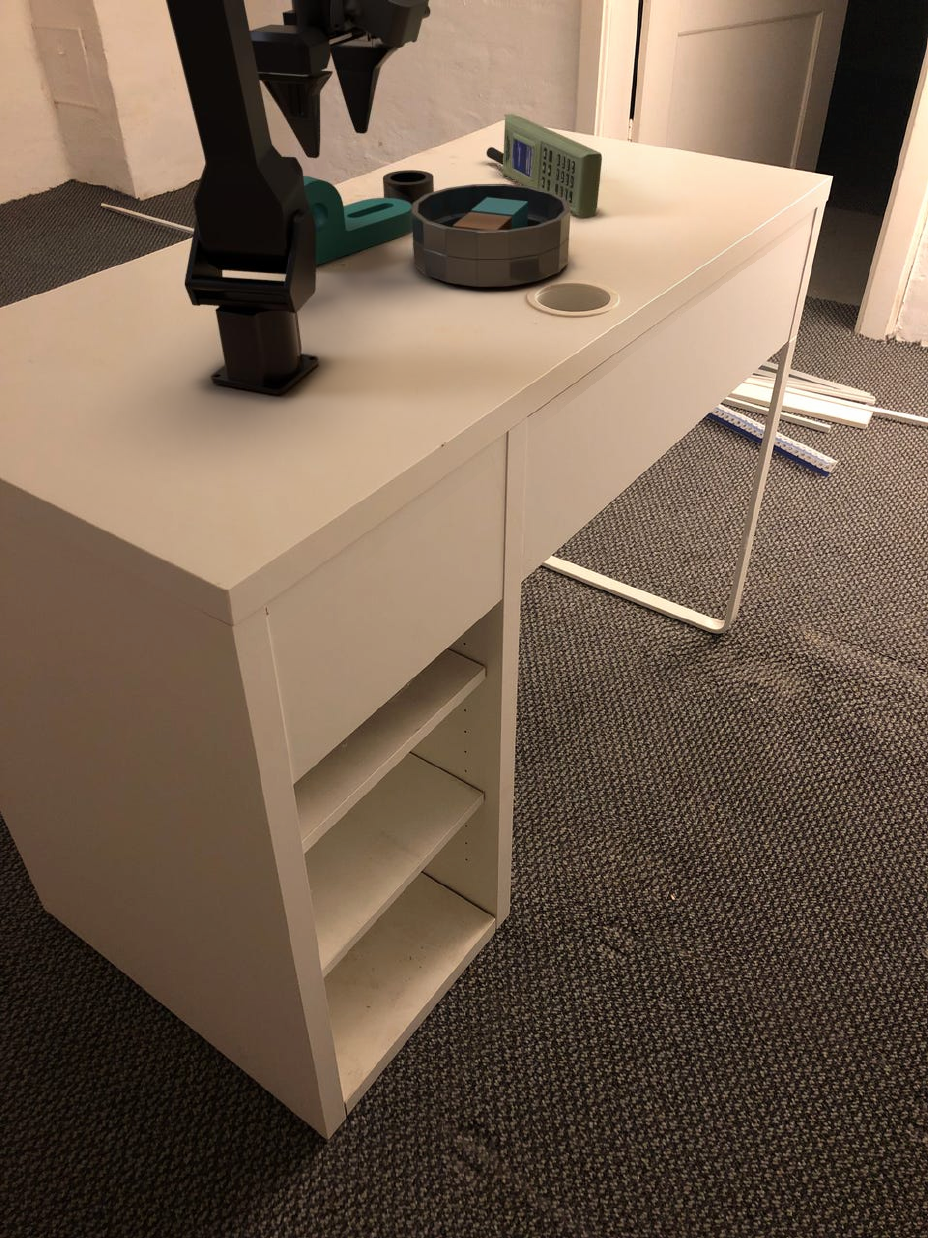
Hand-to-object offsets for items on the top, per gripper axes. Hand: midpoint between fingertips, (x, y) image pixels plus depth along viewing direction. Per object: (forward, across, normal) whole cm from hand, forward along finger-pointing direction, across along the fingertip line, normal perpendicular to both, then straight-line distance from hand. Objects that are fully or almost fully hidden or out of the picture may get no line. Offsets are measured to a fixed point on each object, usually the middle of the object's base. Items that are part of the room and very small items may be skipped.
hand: (338, 144), depth 90 cm
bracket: (+12, +9, +5) cm, 16 cm away
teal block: (+11, +10, -12) cm, 19 cm away
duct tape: (+12, +23, +4) cm, 26 cm away
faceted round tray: (+12, +8, -12) cm, 19 cm away
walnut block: (+11, +6, -12) cm, 17 cm away
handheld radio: (+12, +34, -8) cm, 37 cm away
